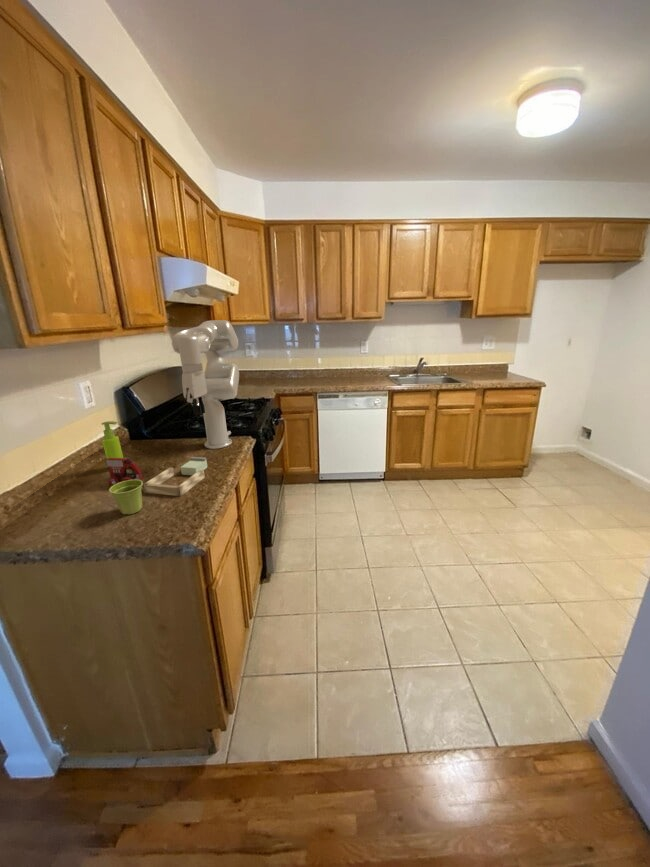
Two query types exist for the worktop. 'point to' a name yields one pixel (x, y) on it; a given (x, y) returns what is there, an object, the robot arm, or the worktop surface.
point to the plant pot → (128, 495)
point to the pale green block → (194, 466)
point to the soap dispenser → (111, 442)
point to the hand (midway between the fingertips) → (199, 413)
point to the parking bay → (158, 488)
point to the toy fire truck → (123, 470)
